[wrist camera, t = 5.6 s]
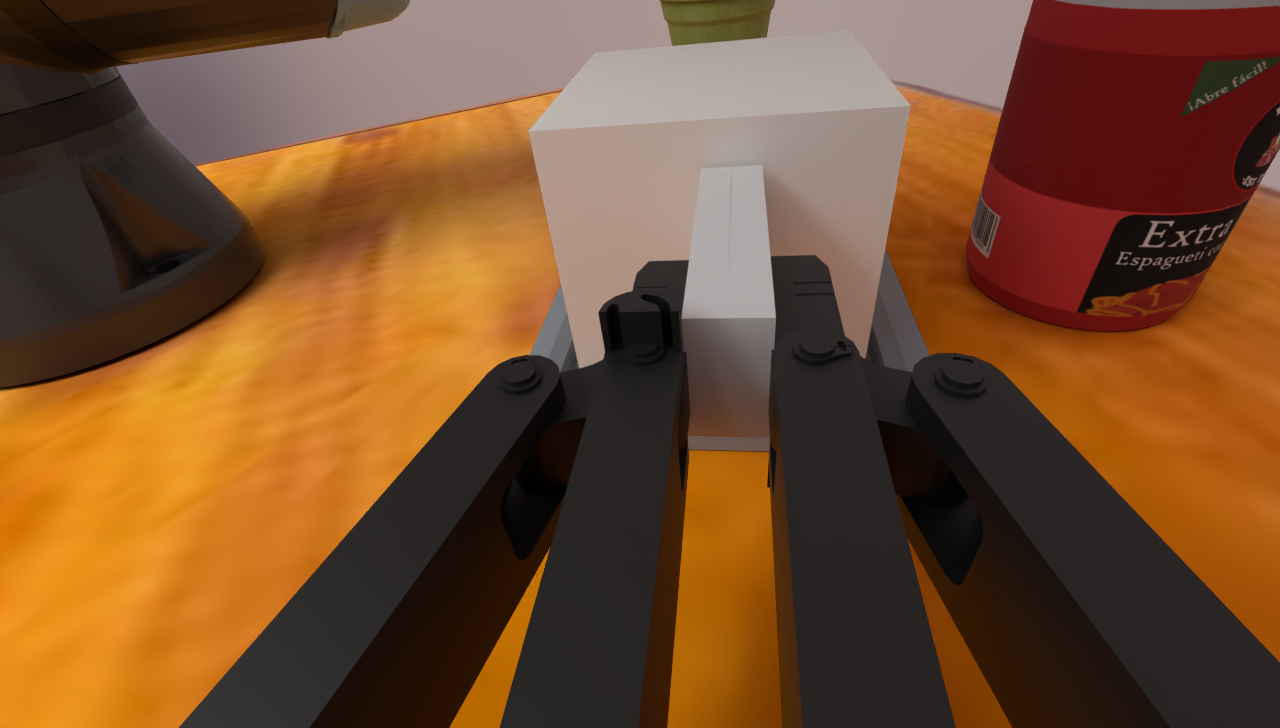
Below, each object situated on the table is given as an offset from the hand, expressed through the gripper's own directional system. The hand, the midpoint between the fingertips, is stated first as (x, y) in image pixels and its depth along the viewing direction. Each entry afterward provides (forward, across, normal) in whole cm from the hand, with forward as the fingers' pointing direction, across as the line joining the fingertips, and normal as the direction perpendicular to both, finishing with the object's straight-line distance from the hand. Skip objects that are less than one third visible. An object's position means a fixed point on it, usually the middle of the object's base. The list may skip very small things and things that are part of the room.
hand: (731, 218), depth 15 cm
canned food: (+9, +14, -8) cm, 18 cm away
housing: (+5, 0, -6) cm, 7 cm away
